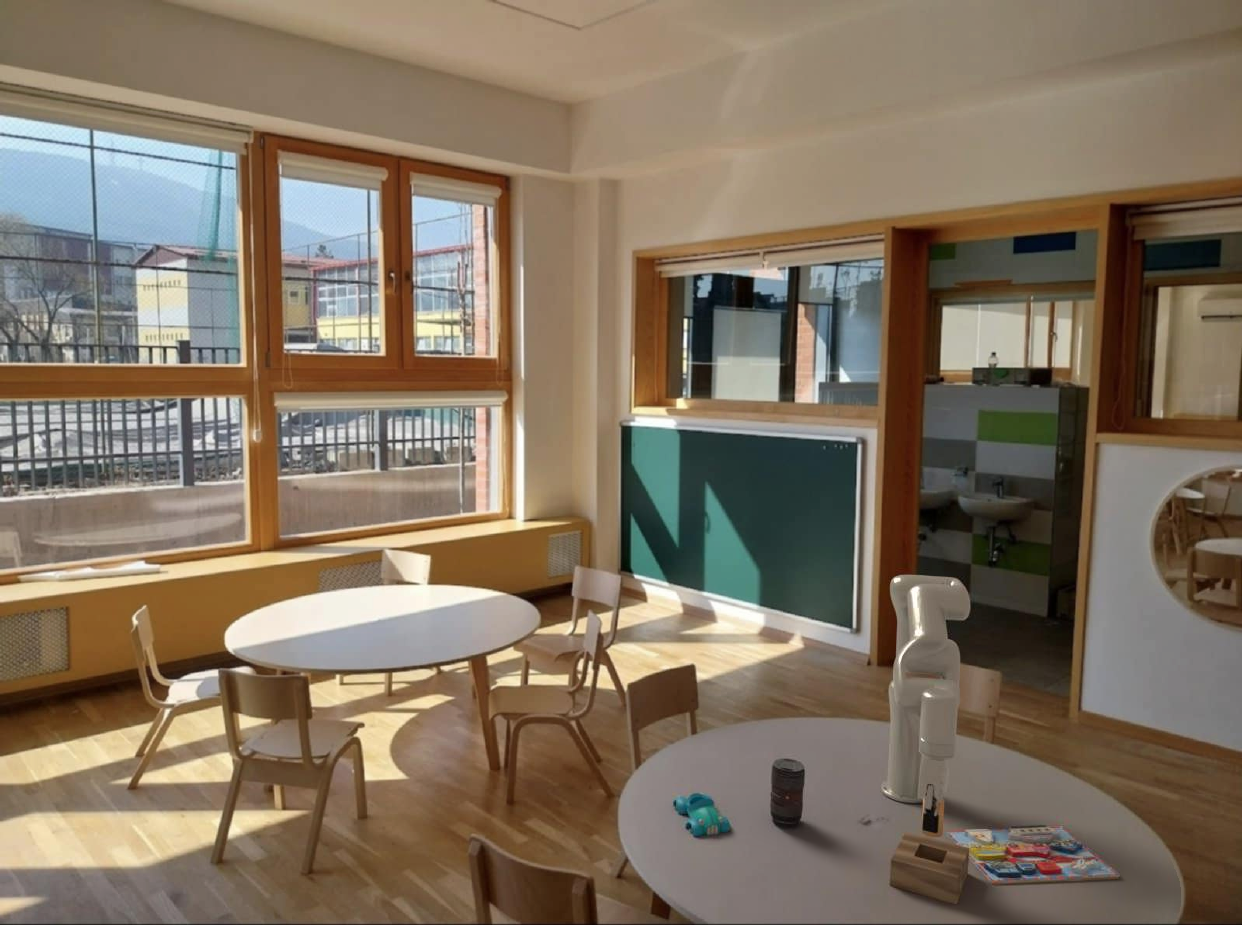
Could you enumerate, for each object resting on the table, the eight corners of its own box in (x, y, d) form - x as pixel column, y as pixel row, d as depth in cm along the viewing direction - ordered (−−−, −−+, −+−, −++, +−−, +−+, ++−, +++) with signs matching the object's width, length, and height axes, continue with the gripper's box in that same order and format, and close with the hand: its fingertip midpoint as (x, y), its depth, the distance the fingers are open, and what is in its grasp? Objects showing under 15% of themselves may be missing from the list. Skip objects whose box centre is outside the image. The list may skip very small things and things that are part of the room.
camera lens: (802, 831, 225) (805, 772, 224) (768, 827, 227) (771, 769, 225) (802, 816, 233) (805, 759, 232) (770, 812, 235) (772, 755, 233)
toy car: (691, 839, 222) (692, 812, 221) (668, 804, 239) (669, 779, 238) (734, 834, 224) (734, 807, 224) (708, 799, 242) (708, 775, 241)
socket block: (904, 856, 215) (905, 831, 214) (967, 873, 208) (969, 848, 208) (889, 885, 203) (891, 859, 202) (956, 904, 196) (958, 877, 195)
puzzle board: (1061, 830, 230) (1062, 820, 230) (1120, 881, 207) (1121, 870, 207) (944, 834, 227) (944, 824, 226) (991, 887, 204) (991, 876, 204)
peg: (923, 825, 207) (925, 791, 206) (944, 830, 205) (946, 795, 204) (919, 833, 203) (921, 798, 203) (940, 839, 201) (942, 803, 200)
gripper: (927, 730, 211) (922, 806, 213) (910, 756, 197) (906, 838, 199) (961, 737, 208) (957, 815, 209) (947, 764, 193) (942, 847, 195)
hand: (932, 825), depth 204 cm, fingers closed on peg, 4 cm apart
